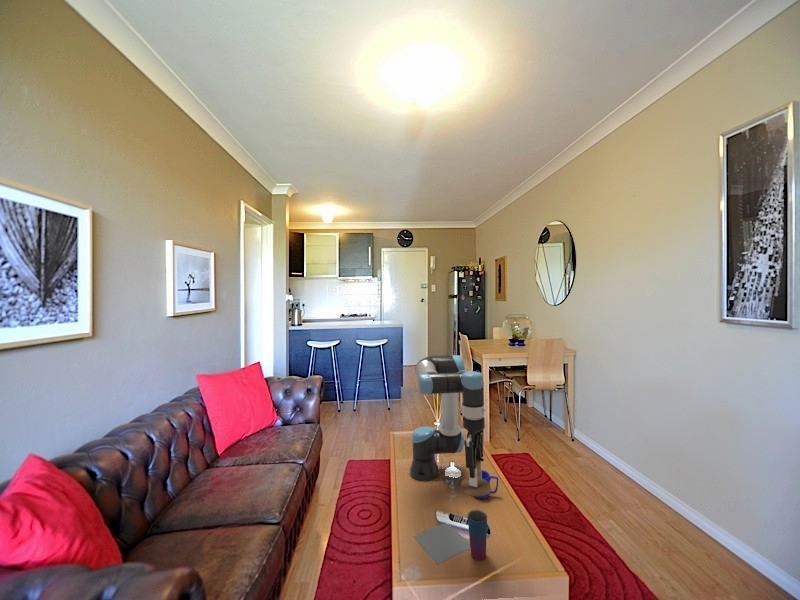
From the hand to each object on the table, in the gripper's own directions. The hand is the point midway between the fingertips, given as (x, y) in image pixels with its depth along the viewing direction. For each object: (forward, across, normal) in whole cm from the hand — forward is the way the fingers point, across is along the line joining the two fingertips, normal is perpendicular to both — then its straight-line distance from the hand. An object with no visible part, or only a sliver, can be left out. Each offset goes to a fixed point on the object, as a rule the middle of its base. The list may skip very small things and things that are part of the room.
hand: (475, 482), depth 120 cm
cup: (+27, 0, 0) cm, 27 cm away
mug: (+27, +38, +9) cm, 47 cm away
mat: (+27, 0, +14) cm, 30 cm away
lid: (+2, 0, 0) cm, 2 cm away
